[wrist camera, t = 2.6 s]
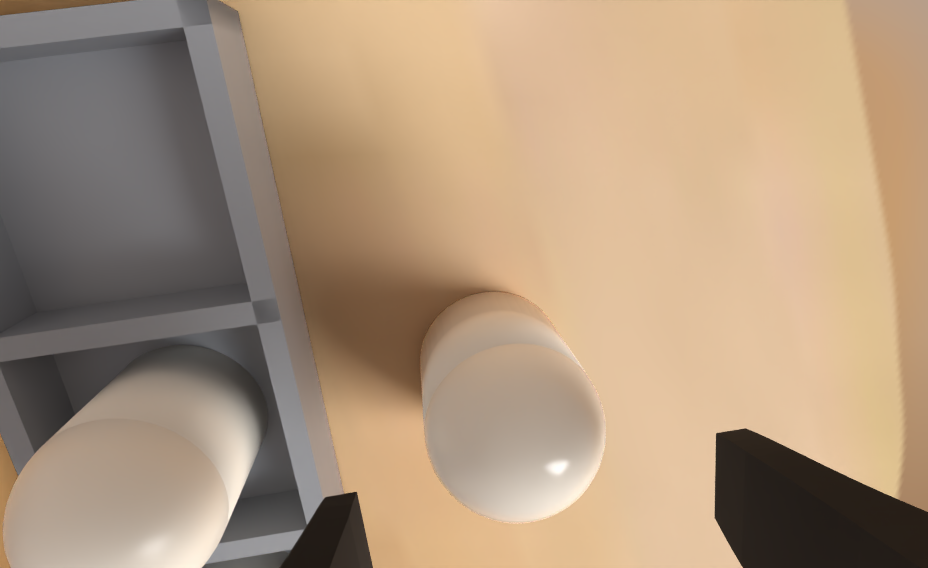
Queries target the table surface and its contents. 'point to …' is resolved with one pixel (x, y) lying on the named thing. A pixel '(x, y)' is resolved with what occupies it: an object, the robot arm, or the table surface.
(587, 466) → the egg
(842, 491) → the robot arm
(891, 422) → the table surface
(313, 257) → the table surface
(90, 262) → the egg crate
